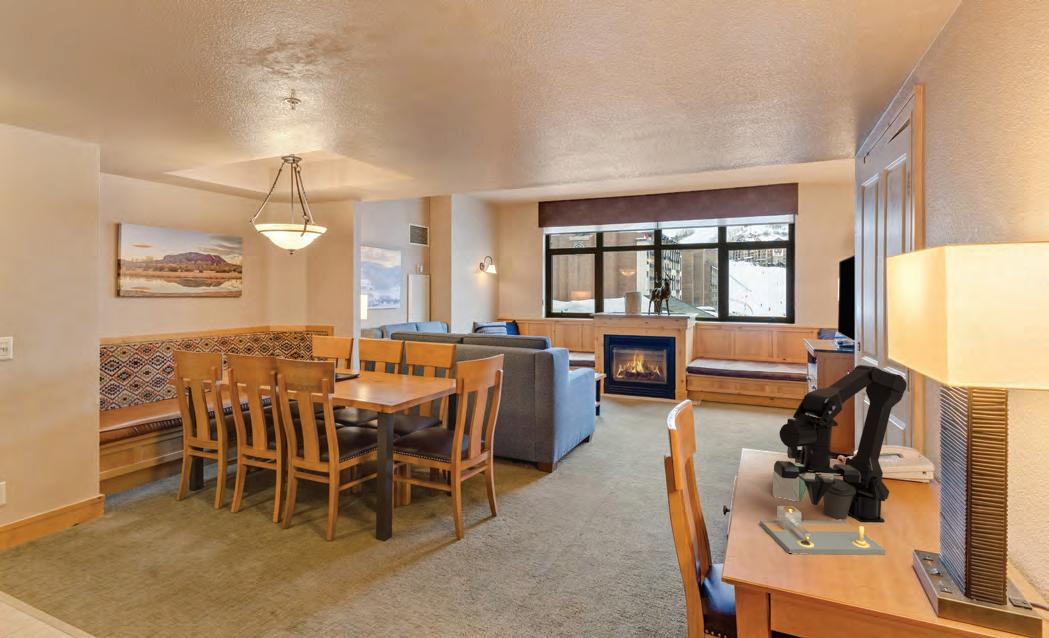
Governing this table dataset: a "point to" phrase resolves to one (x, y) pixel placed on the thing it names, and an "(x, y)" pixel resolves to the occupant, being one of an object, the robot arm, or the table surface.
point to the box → (788, 487)
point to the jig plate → (824, 538)
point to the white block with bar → (791, 520)
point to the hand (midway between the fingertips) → (814, 504)
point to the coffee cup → (838, 499)
